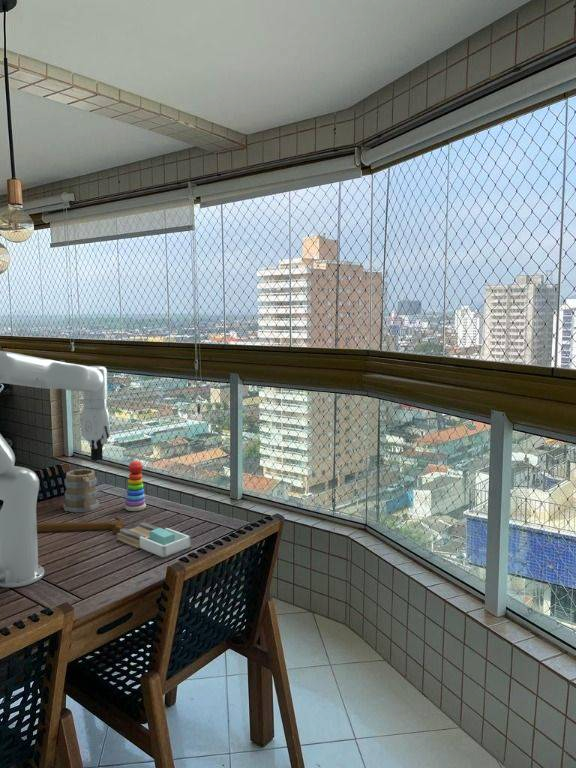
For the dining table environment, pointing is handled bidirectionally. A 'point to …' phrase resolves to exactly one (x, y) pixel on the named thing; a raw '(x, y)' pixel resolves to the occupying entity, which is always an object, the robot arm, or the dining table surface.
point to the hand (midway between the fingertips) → (96, 459)
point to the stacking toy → (135, 488)
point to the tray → (168, 549)
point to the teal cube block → (154, 534)
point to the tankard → (80, 491)
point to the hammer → (82, 526)
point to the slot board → (136, 534)
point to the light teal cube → (165, 538)
